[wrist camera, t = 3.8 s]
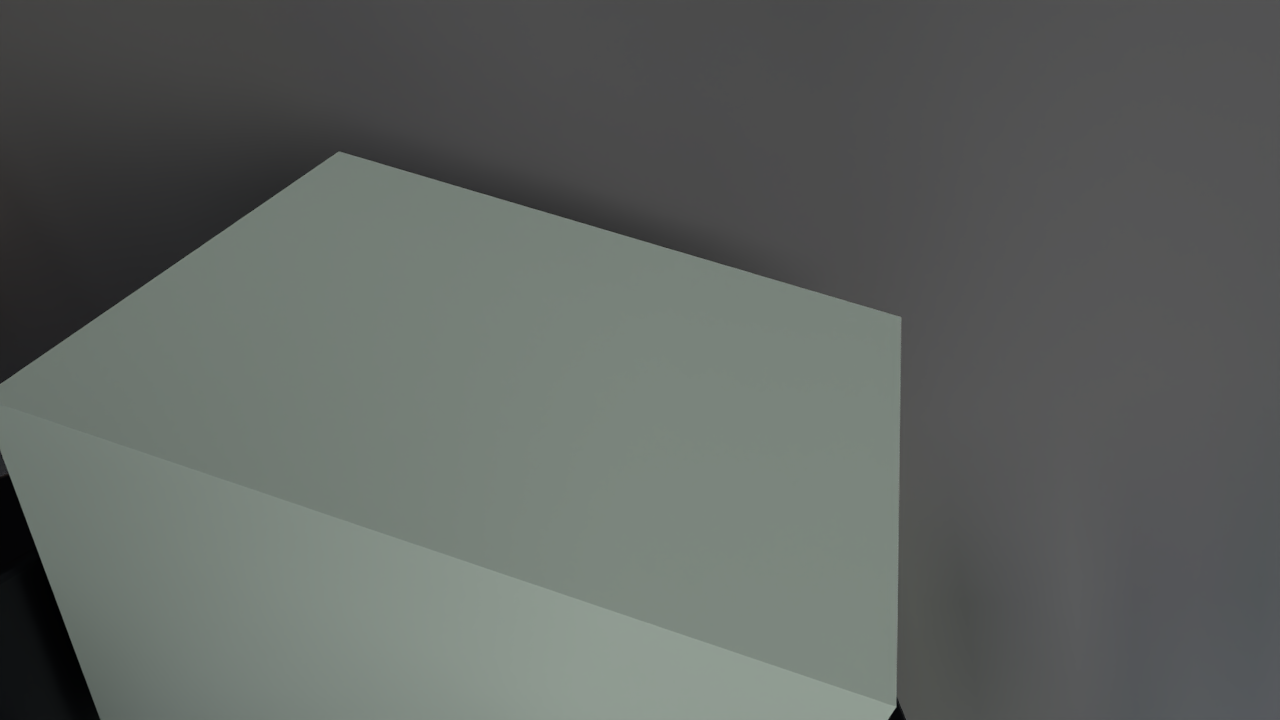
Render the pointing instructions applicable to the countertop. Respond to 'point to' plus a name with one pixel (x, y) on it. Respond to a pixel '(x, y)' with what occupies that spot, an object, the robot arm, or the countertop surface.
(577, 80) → the countertop surface
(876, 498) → the sage block
